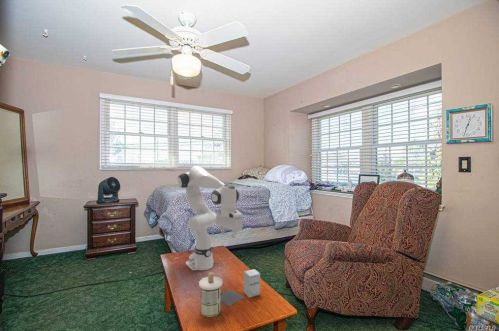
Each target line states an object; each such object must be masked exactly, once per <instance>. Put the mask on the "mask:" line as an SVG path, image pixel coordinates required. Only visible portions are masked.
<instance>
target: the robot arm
mask: <svg viewBox="0 0 499 331" xmlns="http://www.w3.org/2000/svg"><path fill="white" fill-rule="evenodd" d="M177 183H178V185H179V187H180V188H182V189H185V195H186V197H187V201H188V204H189V207H190V209H191V211H193V212H195V213H196V215H194V216H192V217H191V218H189V220H188V227H189V229H190V230H191V231H192V232H193V233H194V237H195V247H193V249H194V251H193V252H192V253H191V254H190V255H189V256H188V260H187V261H185V265H186V266H187V267H188V268H190V270H192V271H207V270H210V269H212V268H213V267H214V264H215V261H214V259H213V252H212V251H213V248H212V235H211V234H209V233H208V230H207V229H208V228H210V227H213V226H215V225H216V226H217V227H218V226H219V229H220V234H221V235H225V234H226V231H225V229H227V230H231V231H232V232H233V233H232V234H231V236H230V237H231V239H232V238H233V239H235V238H236V235H237V233H238V232H241V231H242V230H243V219H242V217H243V213H242V212H240V211H239V210H238V209H237V202H238V201H239V199H240V193H239V191H238V189H237V188H236V186H235V185H233V184H227V183H225V182H224V181H223V180H221V179H220V178H218V177H216V176H214V175H213V174H211V173H209V172H208V171H207V170H206V169H205V168H203V167H202V166H200V165H192V166H191V168H190V169H189V171H188V172H185V173H184V172H182V173H181V174H179V175H178V176H177ZM201 188H203V189H213V190H212V192H211V195H210V200H211V202H212V203H213V205H216V206H217V205H218V206H221V207H220V209H219V210H218V211H217V212H216V213H215V212H213V210H211V209H210V208H209V206H208V205H207V203H206V201H205V199H204V197H203V193H202V191H201ZM224 228H225V229H224Z"/></svg>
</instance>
